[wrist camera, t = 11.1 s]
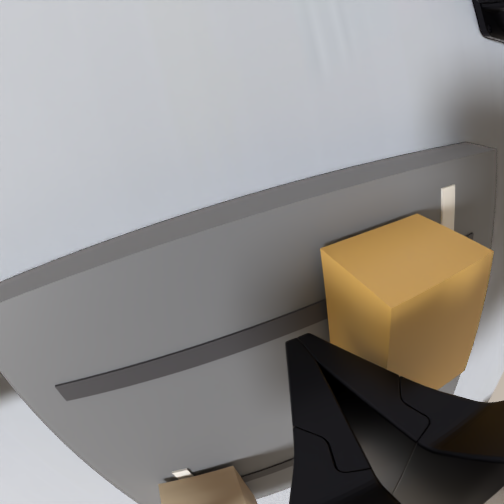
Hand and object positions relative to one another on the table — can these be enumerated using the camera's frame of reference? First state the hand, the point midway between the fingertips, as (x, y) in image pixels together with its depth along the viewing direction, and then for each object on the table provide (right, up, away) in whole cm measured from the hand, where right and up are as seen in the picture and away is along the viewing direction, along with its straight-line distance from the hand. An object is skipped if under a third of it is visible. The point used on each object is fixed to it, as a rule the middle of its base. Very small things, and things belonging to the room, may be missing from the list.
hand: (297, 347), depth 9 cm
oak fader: (-4, -10, +4) cm, 12 cm away
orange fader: (+3, +1, +2) cm, 4 cm away
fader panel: (+1, -3, +5) cm, 6 cm away
